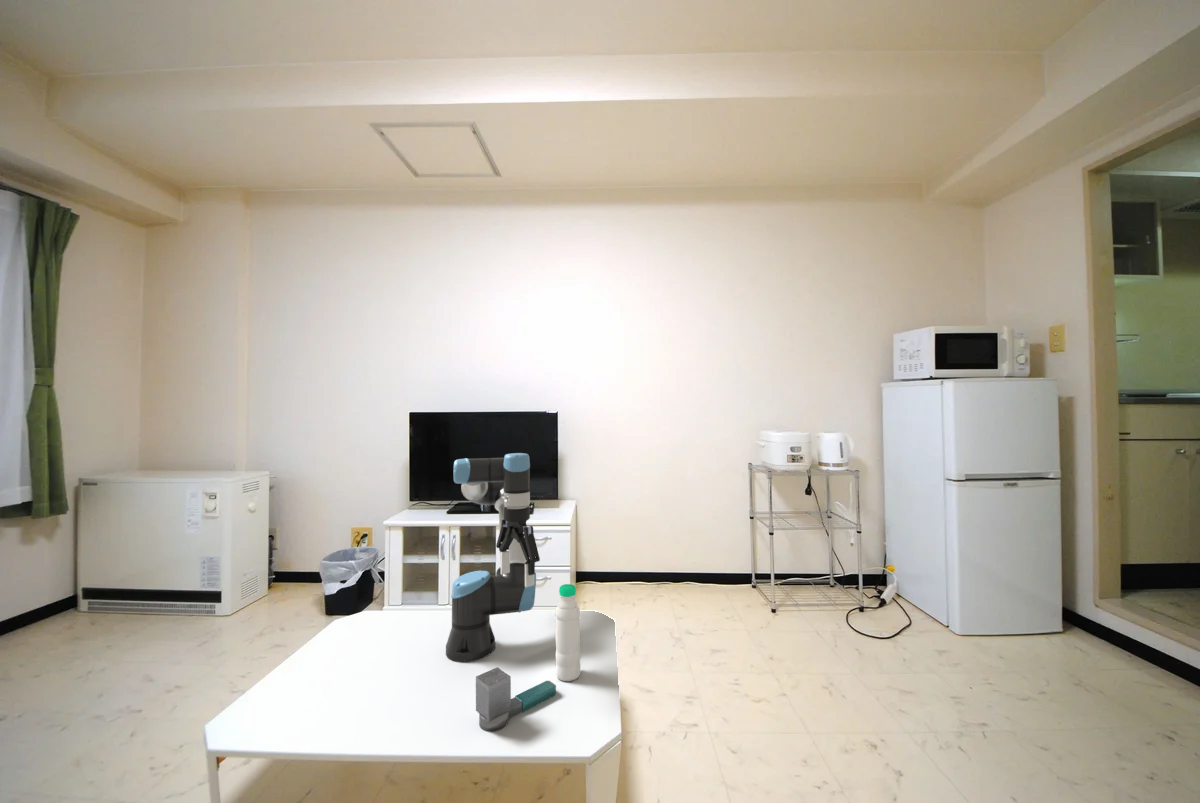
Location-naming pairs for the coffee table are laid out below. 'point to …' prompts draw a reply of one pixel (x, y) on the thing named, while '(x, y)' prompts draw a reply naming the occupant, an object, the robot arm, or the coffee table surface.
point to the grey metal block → (493, 694)
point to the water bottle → (567, 635)
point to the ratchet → (520, 705)
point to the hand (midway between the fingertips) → (516, 579)
